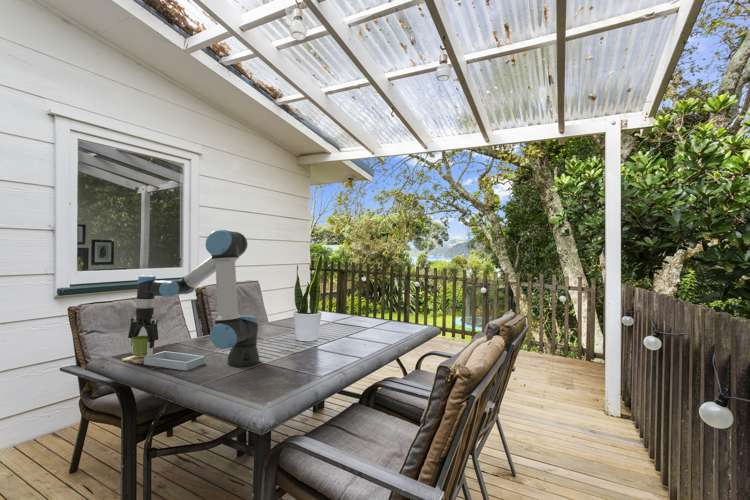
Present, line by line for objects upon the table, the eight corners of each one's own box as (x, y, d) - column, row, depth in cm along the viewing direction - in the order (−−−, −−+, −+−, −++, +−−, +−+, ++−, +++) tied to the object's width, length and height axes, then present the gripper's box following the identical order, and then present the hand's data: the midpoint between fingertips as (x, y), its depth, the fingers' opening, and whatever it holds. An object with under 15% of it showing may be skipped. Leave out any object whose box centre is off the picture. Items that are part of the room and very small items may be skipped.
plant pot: (142, 358, 174) (143, 340, 175) (125, 356, 176) (126, 338, 176) (157, 353, 183) (158, 336, 184) (141, 352, 185) (142, 334, 186)
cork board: (160, 357, 184) (161, 355, 184) (141, 363, 173) (141, 361, 173) (141, 355, 187) (142, 353, 187) (121, 361, 176) (121, 358, 176)
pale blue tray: (204, 363, 178) (205, 356, 178) (186, 370, 167) (187, 362, 167) (164, 358, 184) (164, 351, 184) (143, 364, 172) (144, 356, 172)
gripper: (169, 307, 182) (166, 354, 181) (134, 304, 187) (131, 349, 186) (156, 309, 174) (153, 358, 174) (120, 306, 179) (117, 353, 179)
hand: (142, 353), depth 180 cm, fingers closed on plant pot, 8 cm apart
